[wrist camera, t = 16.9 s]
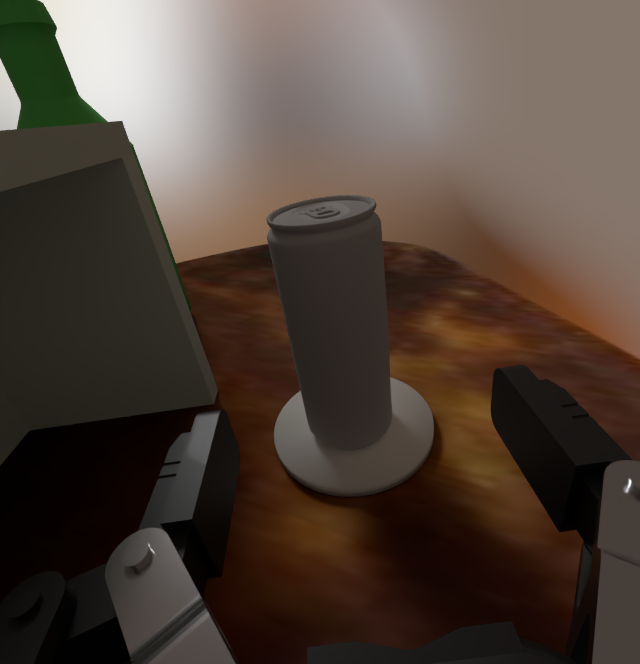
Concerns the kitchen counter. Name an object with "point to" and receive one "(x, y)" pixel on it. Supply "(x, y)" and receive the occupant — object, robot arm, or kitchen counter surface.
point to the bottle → (46, 77)
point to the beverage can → (336, 314)
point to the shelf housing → (87, 288)
